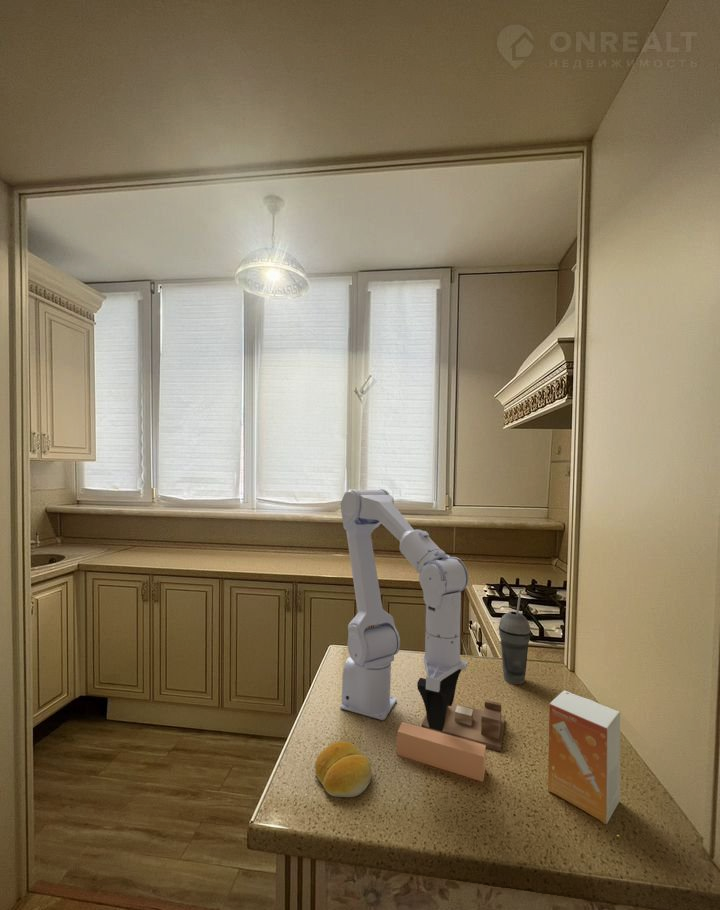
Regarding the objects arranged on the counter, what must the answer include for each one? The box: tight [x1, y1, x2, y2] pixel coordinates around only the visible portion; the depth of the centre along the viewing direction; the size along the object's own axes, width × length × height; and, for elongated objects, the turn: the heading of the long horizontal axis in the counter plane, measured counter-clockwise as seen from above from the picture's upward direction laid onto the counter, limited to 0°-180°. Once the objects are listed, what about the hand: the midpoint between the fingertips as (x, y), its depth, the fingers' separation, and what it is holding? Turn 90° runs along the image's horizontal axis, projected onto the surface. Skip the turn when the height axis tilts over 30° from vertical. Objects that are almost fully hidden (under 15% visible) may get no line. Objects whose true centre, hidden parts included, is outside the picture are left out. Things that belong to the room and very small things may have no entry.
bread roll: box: [314, 740, 372, 798], centre depth 62 cm, size 8×9×4 cm
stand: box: [420, 699, 506, 752], centre depth 77 cm, size 14×10×4 cm
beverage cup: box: [497, 593, 532, 685], centre depth 95 cm, size 7×7×20 cm
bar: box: [396, 721, 487, 783], centre depth 66 cm, size 14×3×4 cm, turn 67°
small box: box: [547, 690, 621, 825], centre depth 60 cm, size 8×6×13 cm
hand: (441, 715), depth 67 cm, fingers open, 7 cm apart
